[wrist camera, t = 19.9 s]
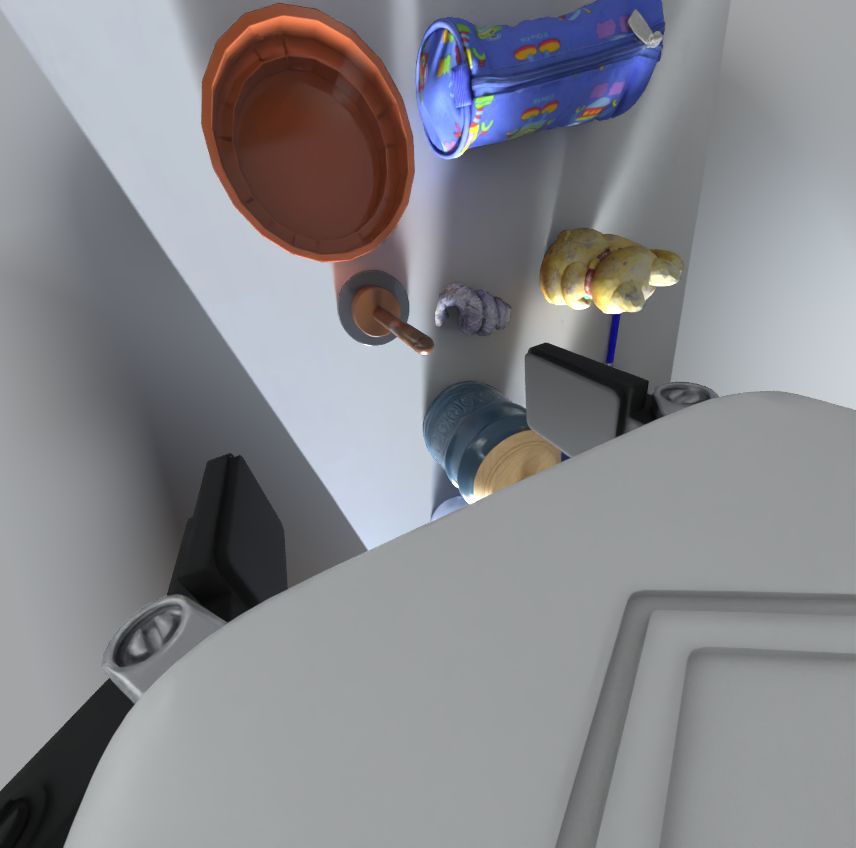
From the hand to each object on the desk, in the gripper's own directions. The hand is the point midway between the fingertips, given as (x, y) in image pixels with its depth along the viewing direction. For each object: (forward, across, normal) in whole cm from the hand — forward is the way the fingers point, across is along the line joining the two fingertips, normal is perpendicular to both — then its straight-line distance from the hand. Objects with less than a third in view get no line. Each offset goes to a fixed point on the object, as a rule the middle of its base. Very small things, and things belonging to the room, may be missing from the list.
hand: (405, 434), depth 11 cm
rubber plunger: (+30, -6, +3) cm, 31 cm away
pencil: (+30, -42, +14) cm, 53 cm away
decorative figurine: (+30, -31, +4) cm, 43 cm away
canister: (+30, -15, +21) cm, 40 cm away
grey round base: (+30, -6, +3) cm, 31 cm away
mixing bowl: (+31, -4, -11) cm, 33 cm away
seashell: (+30, -18, +6) cm, 36 cm away
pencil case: (+31, -25, -14) cm, 42 cm away
